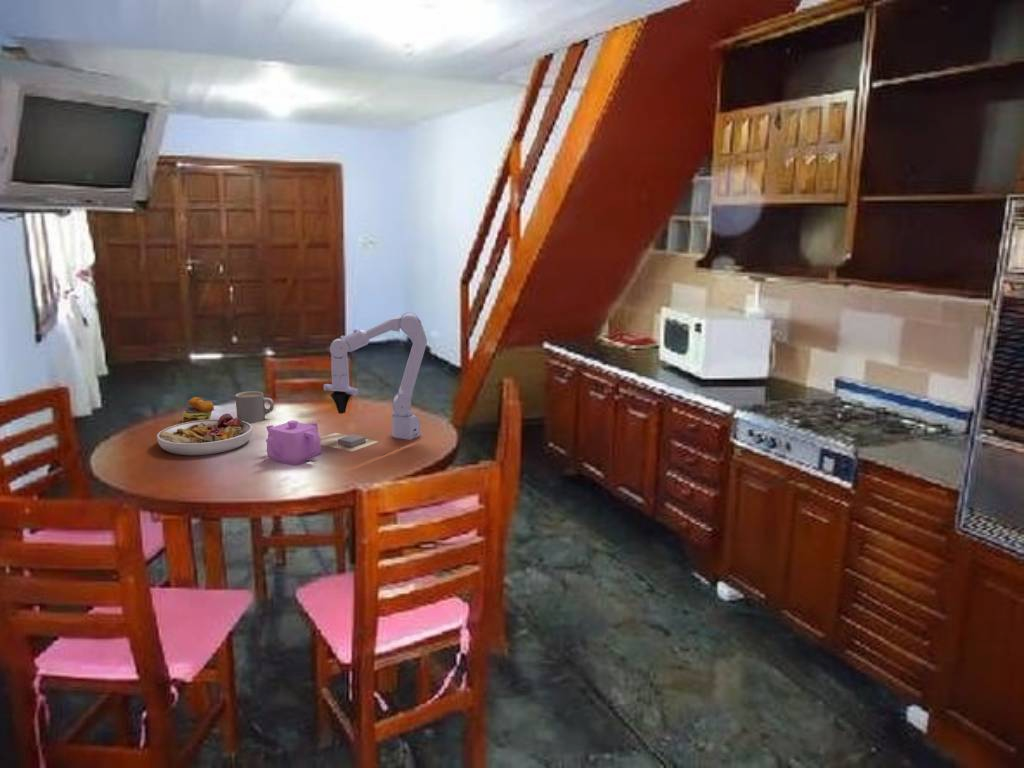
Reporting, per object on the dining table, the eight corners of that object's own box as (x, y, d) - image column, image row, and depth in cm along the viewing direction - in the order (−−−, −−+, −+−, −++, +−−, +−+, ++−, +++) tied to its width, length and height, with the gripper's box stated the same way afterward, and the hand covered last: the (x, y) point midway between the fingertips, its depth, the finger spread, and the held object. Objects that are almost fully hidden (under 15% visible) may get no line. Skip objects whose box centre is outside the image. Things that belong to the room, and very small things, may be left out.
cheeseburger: (180, 418, 285) (184, 393, 284) (209, 422, 290) (214, 397, 289) (181, 424, 276) (185, 398, 275) (211, 428, 281) (216, 402, 280)
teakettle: (322, 464, 235) (320, 426, 232) (265, 468, 230) (263, 430, 227) (321, 448, 251) (319, 412, 248) (268, 452, 246) (265, 416, 243)
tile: (352, 439, 256) (365, 442, 253) (338, 444, 250) (351, 447, 247) (352, 434, 256) (365, 436, 253) (337, 439, 250) (351, 442, 247)
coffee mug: (233, 423, 280) (231, 397, 277) (241, 416, 289) (240, 391, 287) (270, 423, 280) (268, 397, 278) (276, 416, 290) (275, 391, 288)
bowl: (221, 461, 237) (219, 437, 235) (138, 455, 243) (135, 431, 241) (269, 435, 266) (268, 413, 264) (194, 429, 271) (192, 409, 270)
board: (378, 445, 254) (378, 441, 254) (352, 455, 243) (351, 451, 243) (335, 435, 264) (335, 432, 264) (308, 445, 254) (308, 441, 253)
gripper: (316, 373, 254) (318, 412, 257) (347, 378, 247) (349, 418, 250) (331, 370, 260) (332, 408, 263) (362, 375, 253) (363, 413, 256)
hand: (341, 412), depth 257 cm, fingers closed
